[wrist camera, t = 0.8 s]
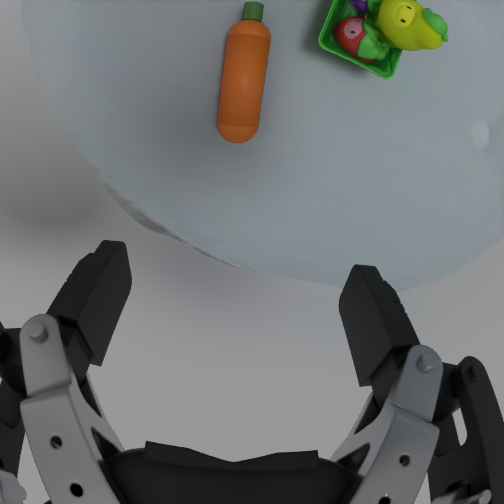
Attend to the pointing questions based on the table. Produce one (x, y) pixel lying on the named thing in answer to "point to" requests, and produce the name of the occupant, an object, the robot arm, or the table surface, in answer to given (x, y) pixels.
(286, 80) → the table surface
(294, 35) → the table surface
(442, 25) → the fruit basket
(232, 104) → the carrot
